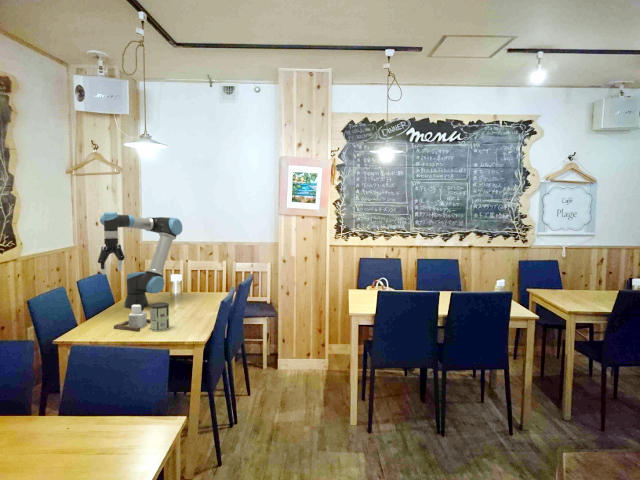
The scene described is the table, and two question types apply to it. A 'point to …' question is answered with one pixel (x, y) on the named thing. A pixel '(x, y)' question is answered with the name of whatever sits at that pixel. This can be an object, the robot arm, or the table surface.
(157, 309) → the coffee can
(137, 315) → the container
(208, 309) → the table surface
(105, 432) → the table surface
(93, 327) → the table surface
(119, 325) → the dock
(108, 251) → the robot arm
